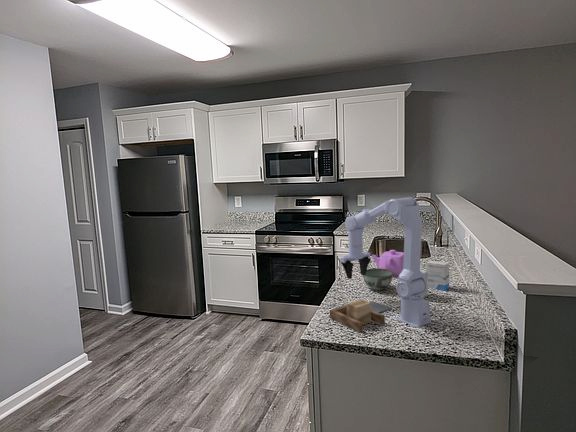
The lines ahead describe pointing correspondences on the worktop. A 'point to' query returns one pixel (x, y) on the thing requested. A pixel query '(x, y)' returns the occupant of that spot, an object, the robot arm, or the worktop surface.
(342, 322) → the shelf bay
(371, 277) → the bowl
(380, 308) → the mat
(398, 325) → the worktop surface
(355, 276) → the worktop surface
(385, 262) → the teakettle
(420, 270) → the small box
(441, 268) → the ink box
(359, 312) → the gripped blank
